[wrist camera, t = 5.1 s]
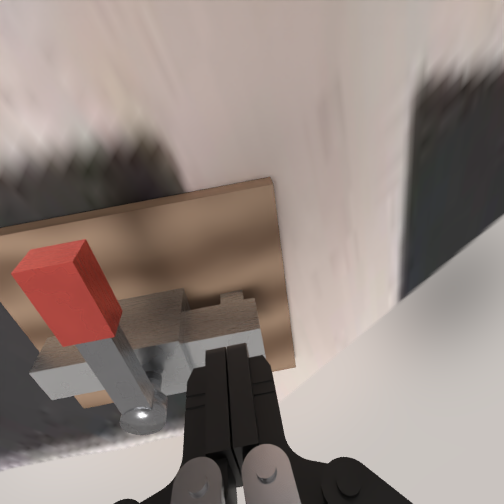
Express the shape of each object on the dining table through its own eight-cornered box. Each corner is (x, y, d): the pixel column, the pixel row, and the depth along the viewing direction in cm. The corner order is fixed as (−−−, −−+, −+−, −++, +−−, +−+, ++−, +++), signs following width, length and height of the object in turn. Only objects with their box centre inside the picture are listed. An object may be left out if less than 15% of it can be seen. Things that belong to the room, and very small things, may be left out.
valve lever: (42, 232, 18) (8, 273, 15) (97, 222, 18) (74, 261, 15) (137, 393, 26) (128, 441, 23) (174, 386, 26) (170, 432, 23)
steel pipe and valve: (48, 313, 29) (15, 372, 24) (250, 274, 29) (259, 325, 24) (78, 357, 32) (55, 417, 27) (259, 322, 33) (269, 375, 28)
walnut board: (-33, 234, 26) (-45, 244, 25) (269, 177, 26) (273, 184, 25) (88, 396, 38) (83, 408, 37) (292, 356, 38) (295, 367, 37)
